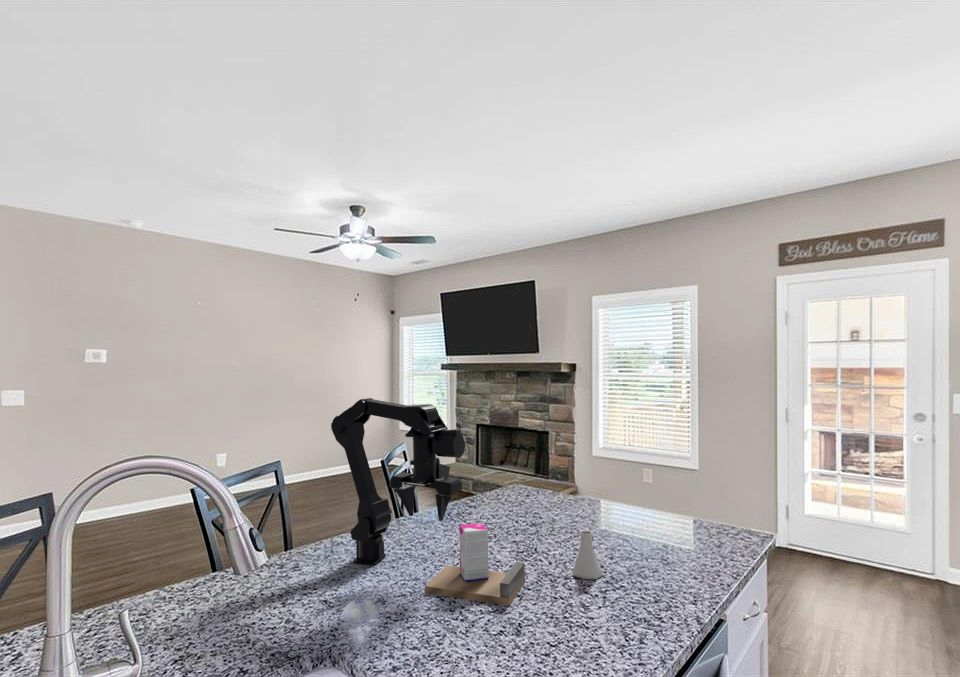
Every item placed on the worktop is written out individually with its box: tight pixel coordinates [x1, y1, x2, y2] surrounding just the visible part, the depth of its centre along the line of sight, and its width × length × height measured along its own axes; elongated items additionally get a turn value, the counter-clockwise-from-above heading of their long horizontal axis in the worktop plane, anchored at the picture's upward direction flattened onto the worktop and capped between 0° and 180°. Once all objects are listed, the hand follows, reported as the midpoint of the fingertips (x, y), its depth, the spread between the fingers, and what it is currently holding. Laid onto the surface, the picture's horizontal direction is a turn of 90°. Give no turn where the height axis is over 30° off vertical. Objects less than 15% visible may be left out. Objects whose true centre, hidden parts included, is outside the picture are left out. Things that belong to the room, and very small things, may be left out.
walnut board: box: [424, 561, 526, 606], centre depth 119 cm, size 20×12×4 cm, turn 69°
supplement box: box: [459, 522, 490, 583], centre depth 121 cm, size 6×6×12 cm
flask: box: [572, 529, 603, 580], centre depth 125 cm, size 7×7×10 cm
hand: (426, 518), depth 129 cm, fingers open, 9 cm apart
